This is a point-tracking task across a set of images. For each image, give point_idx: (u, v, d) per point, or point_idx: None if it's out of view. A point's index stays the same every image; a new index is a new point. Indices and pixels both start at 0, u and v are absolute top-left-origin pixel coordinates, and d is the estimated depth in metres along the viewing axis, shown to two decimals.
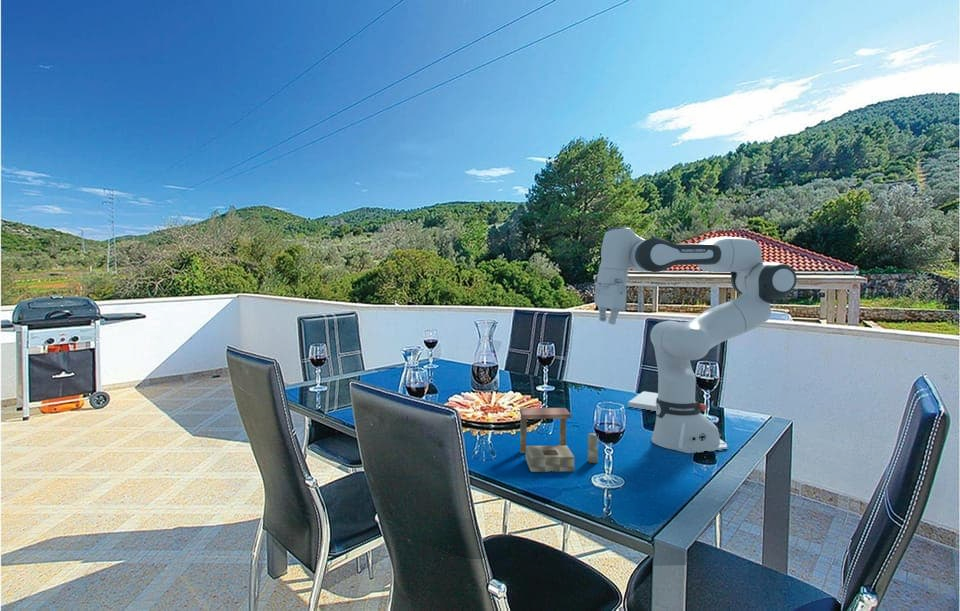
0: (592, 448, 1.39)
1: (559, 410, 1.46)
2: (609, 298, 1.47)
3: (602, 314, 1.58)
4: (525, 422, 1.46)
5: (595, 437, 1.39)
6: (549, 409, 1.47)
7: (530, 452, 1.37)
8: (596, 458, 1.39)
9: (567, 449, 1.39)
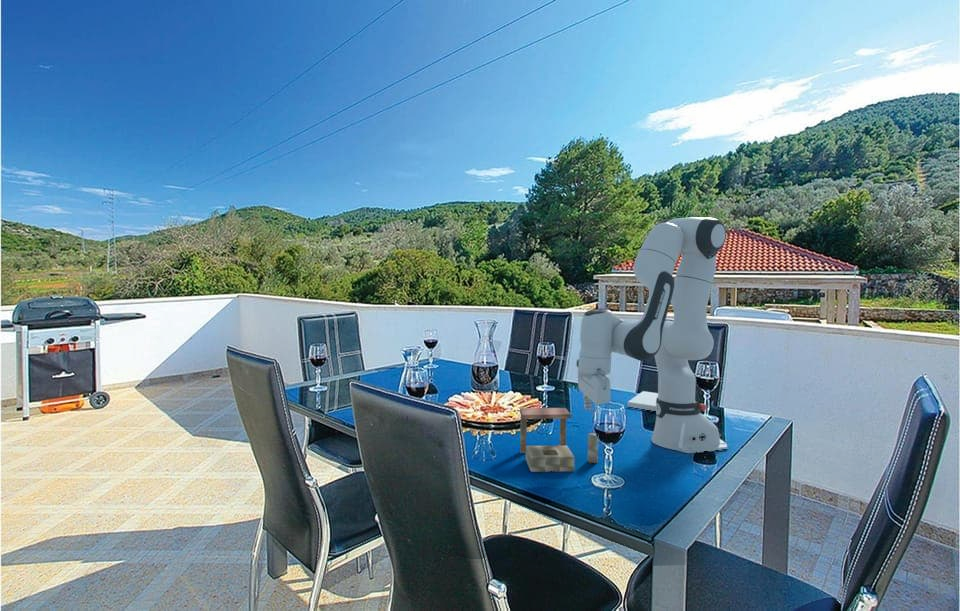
0: (592, 448, 1.39)
1: (559, 410, 1.46)
2: (592, 391, 1.33)
3: (587, 401, 1.44)
4: (525, 422, 1.46)
5: (595, 437, 1.39)
6: (549, 409, 1.47)
7: (530, 452, 1.37)
8: (596, 458, 1.39)
9: (567, 449, 1.39)
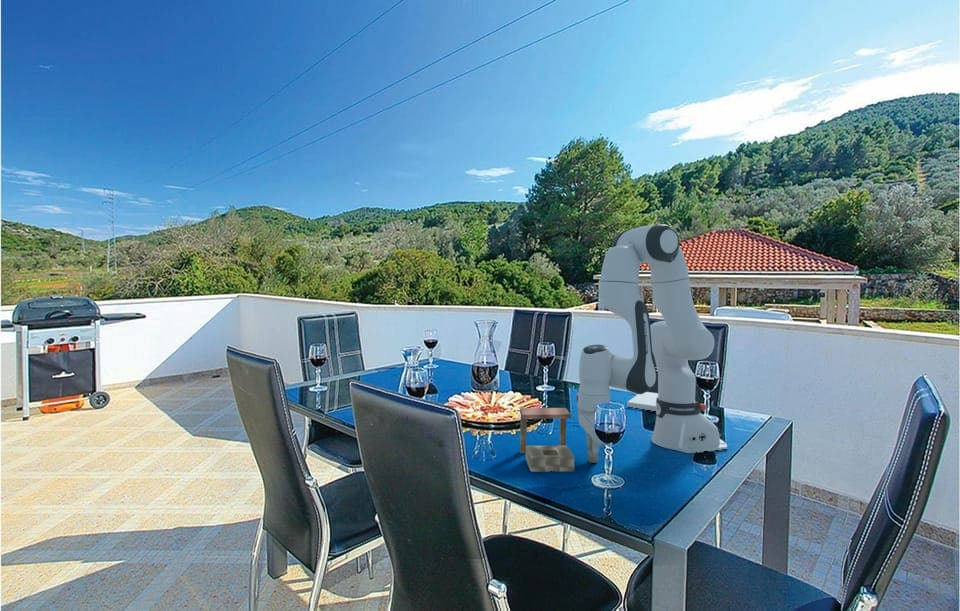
0: None
1: (559, 410, 1.46)
2: (592, 429, 1.34)
3: None
4: (525, 422, 1.46)
5: None
6: (549, 409, 1.47)
7: (530, 452, 1.37)
8: (596, 458, 1.39)
9: (567, 449, 1.39)
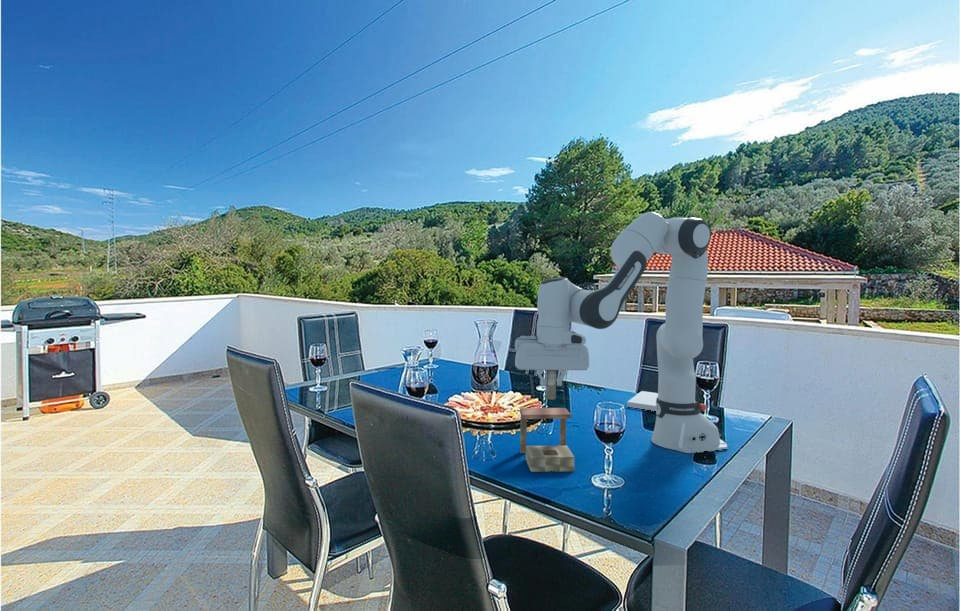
0: None
1: (559, 410, 1.46)
2: None
3: (559, 377, 1.35)
4: (525, 422, 1.46)
5: (546, 371, 1.35)
6: (549, 409, 1.47)
7: (530, 452, 1.37)
8: (547, 393, 1.35)
9: (567, 449, 1.39)
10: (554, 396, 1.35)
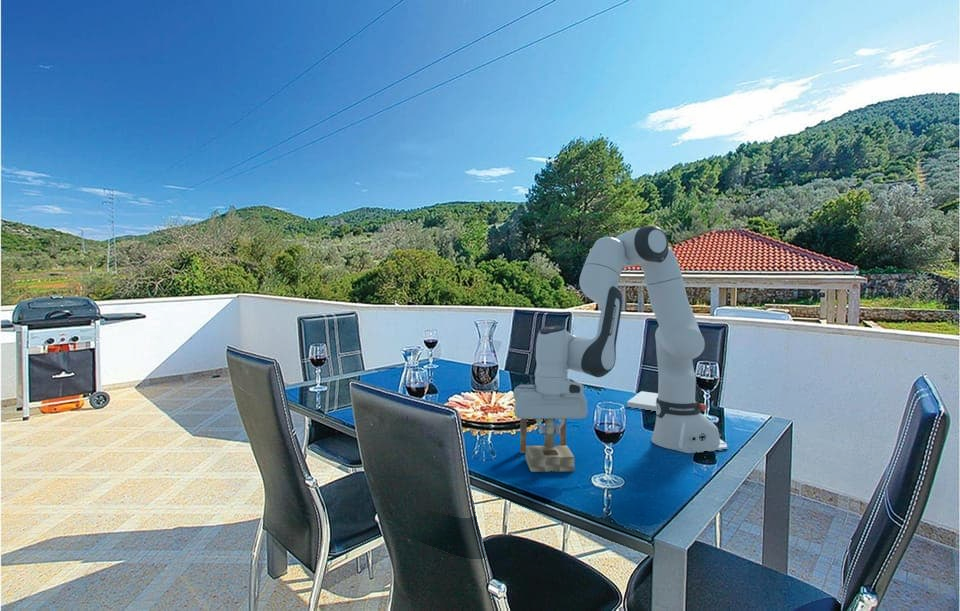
0: None
1: None
2: None
3: (558, 425, 1.36)
4: (525, 422, 1.46)
5: (545, 419, 1.36)
6: None
7: (530, 452, 1.37)
8: (546, 441, 1.36)
9: (567, 449, 1.39)
10: (553, 444, 1.36)
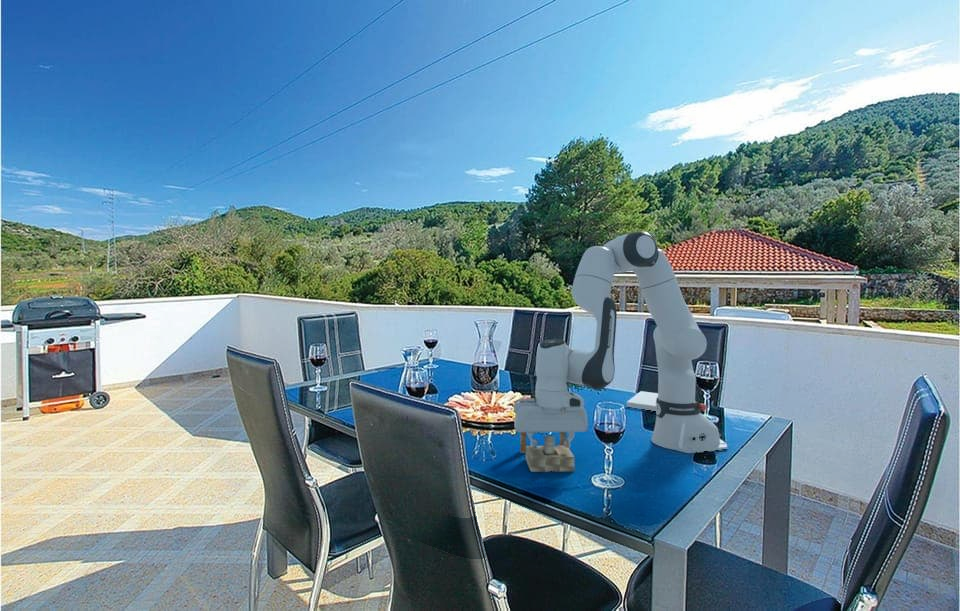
0: None
1: None
2: None
3: (568, 438, 1.37)
4: None
5: (544, 439, 1.36)
6: None
7: (530, 452, 1.37)
8: None
9: (567, 449, 1.39)
10: None
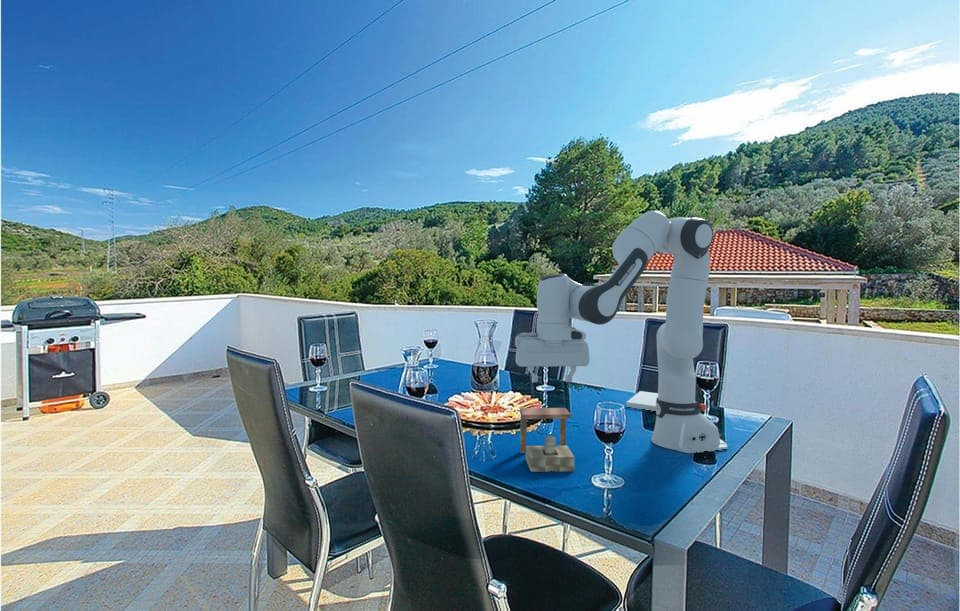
0: None
1: (559, 410, 1.46)
2: None
3: (569, 374, 1.36)
4: (525, 422, 1.46)
5: (545, 438, 1.36)
6: (549, 409, 1.47)
7: (530, 452, 1.37)
8: None
9: (567, 449, 1.39)
10: None
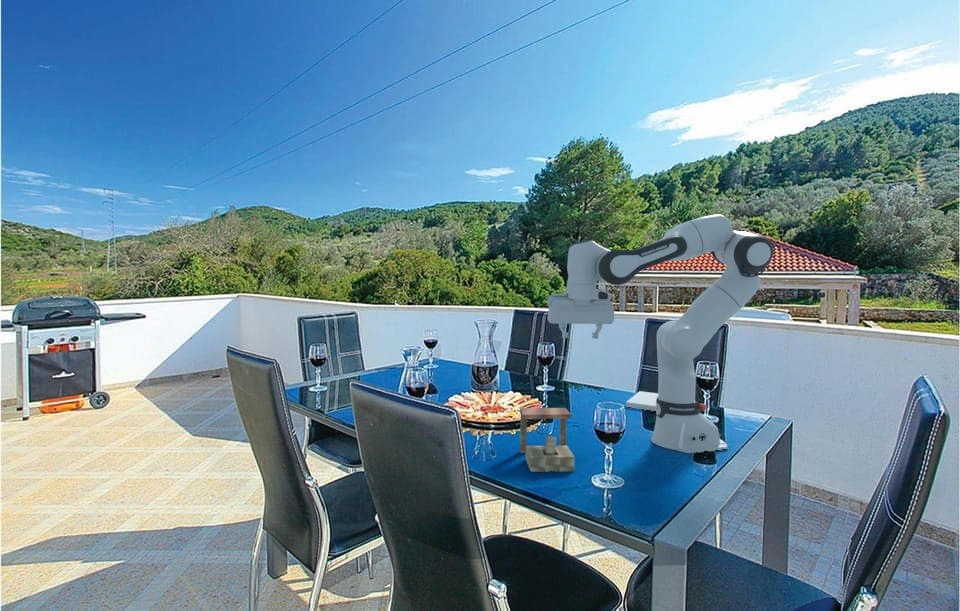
0: None
1: (559, 410, 1.46)
2: None
3: (596, 331, 1.51)
4: (525, 422, 1.46)
5: (546, 439, 1.36)
6: (549, 409, 1.47)
7: (530, 452, 1.37)
8: None
9: (567, 449, 1.39)
10: None
